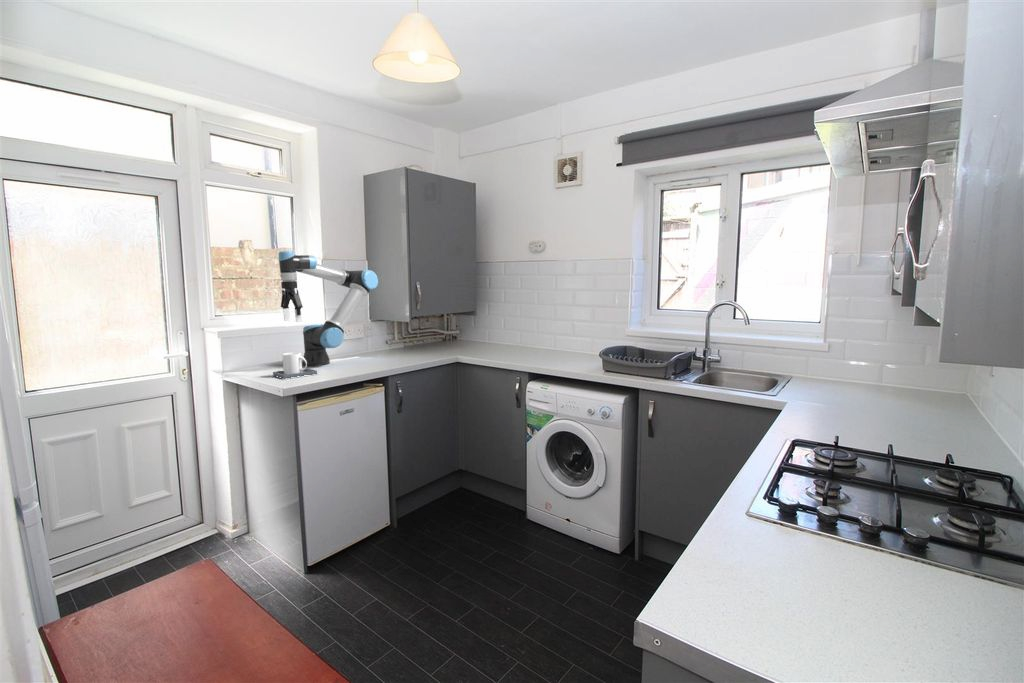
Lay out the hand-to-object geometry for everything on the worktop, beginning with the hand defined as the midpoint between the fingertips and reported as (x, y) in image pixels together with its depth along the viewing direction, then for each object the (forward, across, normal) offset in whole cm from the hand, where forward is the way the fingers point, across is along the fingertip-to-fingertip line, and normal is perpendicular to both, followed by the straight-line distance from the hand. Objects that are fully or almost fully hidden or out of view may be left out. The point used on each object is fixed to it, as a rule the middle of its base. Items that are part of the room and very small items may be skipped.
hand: (292, 321), depth 256 cm
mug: (+27, +11, -6) cm, 30 cm away
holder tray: (+27, +11, -6) cm, 30 cm away
